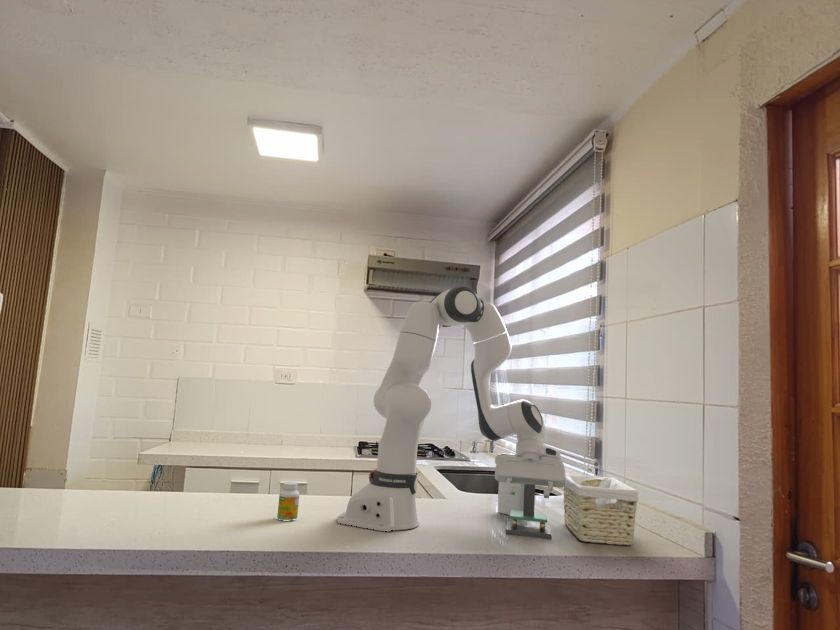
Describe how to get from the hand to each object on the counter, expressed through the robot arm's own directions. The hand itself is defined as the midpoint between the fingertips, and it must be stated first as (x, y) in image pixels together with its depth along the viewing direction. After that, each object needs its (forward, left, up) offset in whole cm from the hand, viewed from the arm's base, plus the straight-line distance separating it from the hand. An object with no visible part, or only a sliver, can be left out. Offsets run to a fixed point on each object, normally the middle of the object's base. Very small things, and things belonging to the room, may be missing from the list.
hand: (529, 495), depth 152 cm
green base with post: (0, +1, -6) cm, 6 cm away
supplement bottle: (-65, -16, -10) cm, 68 cm away
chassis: (0, +1, -10) cm, 10 cm away
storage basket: (+19, +6, -10) cm, 22 cm away
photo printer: (-5, +19, -10) cm, 22 cm away
